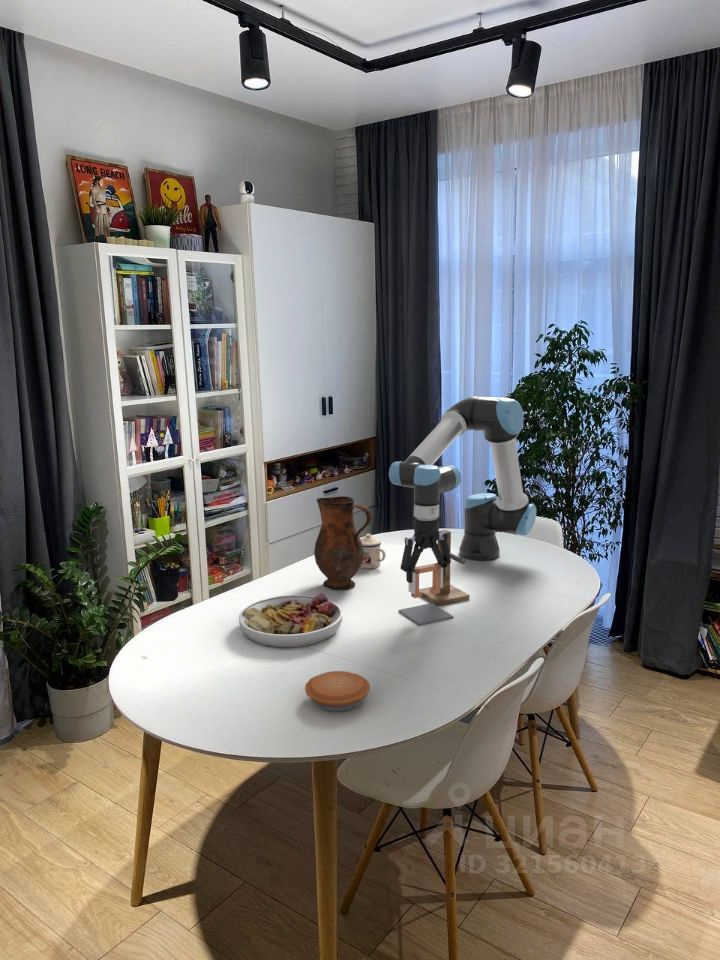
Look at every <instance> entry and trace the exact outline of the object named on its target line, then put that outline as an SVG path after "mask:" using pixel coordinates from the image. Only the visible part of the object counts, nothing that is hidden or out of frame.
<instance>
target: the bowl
mask: <svg viewBox="0 0 720 960" xmlns="http://www.w3.org/2000/svg"><path fill="white" fill-rule="evenodd" d="M342 621H343V610H342V608H341V607H340V606H339V605H338V604H337V603H335V602H333V601H332V600H329V599H328V597H327V595H326V594H325V593H321V592H320V593H318V594H317V593H316V594H315V595H313V596H312V595H301V594H300V595H299V594H296V595H295V594H294V595H293V594H291V595H289V594H288V595H280V596H273V597H269V598H265V599H261V600H257V601H255V602H253V603H251V604H249V605H247V606H246V607H244V608H243V609H242V610H241V612H240V613H239V615H238V624H239V628H240V629H241V631H242V633H243V634H244V635H245V636H246V637H247V638H248V639H250V640H251V641H253V642H255V643H258V644H261V645H264V646H266V647H267V646H268V647H273V648H299V647H305V646H310V645H314V644H318V643H320V642H323V641H324V640H327V639H328V638H330V637H331V636H332V635H334V634H335V633H336V632H337V631H338V630H339V628H340V626H341V625H342Z"/></svg>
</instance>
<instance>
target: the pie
mask: <svg viewBox="0 0 720 960" xmlns="http://www.w3.org/2000/svg"><path fill="white" fill-rule="evenodd" d="M370 689H371V684H370V682H369V681H368V680H367V679H366V678H365V677H364V676H362V675H360V674H357V673H355V672H351V671H350V672H349V671H344V670H333V671H327V672H323V673H320V674H318V675H314V676H312V677H311V678H310V679H309V680H308V681H307V682H306V684H305V686H304V691H305V694H306V695H307V696H308V697H309V698H310V699H311V701H312V702H313V704H314V705H315V706H316V707H317V708H318V709H321V710H322V711H326V712H332V713H342V712H343V713H345V712H349V711H351V710H353V709H356V708H357V707H358V706H360V704H361V703H362V701H363V700H364V698H365V697H366V696H367V694H368V693H369V691H370Z"/></svg>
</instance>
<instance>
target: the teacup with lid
mask: <svg viewBox="0 0 720 960" xmlns="http://www.w3.org/2000/svg"><path fill="white" fill-rule="evenodd" d="M360 539H361V541H362V545H363V549H364V556H363V562H362V564H361V566H360V568H361V569H376V568H378V567H380V566H381V562H383V561H384V560H385V559H386V557H387V556H386V552H385V550H384V549H383V548H381V544H382V542H381V540H380V538H377V537H374V536H372V533H371V534H370V533H366V534H365V536H363V537H360ZM381 554H382V557H381ZM360 568H359V569H360Z"/></svg>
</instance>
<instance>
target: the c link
mask: <svg viewBox="0 0 720 960" xmlns="http://www.w3.org/2000/svg"><path fill="white" fill-rule="evenodd" d="M413 572H415V573H416V576H415V594H413V593H411V592H410V593H411V594H410V596H411V597H412V598H414V599H418V598H423V597H422V592H421V591H419V589H420V575H421V574H424V573H430V572H432V582H431V583H432V584H431V585H432V586H430V587H431V588H430V593H431V594H438V593H440V564H438V563H437V562H435V563H430V564H424V565H420V566H415V568H414V571H413Z"/></svg>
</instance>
